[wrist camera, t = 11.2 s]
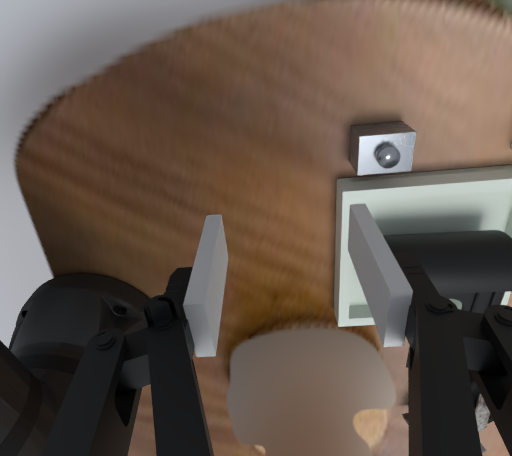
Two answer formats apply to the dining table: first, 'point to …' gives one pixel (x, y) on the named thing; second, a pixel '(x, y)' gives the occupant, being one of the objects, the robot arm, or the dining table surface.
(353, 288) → the pale green tray
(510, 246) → the end cap
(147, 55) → the dining table surface
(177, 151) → the dining table surface
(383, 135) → the block
